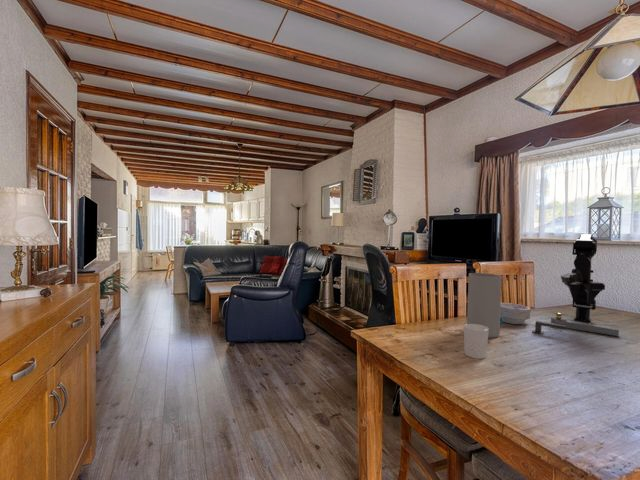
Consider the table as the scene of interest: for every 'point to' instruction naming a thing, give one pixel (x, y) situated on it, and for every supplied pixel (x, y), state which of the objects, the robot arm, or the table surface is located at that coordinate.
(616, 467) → the table surface
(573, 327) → the link
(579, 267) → the robot arm
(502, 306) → the paper bowls
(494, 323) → the tall grey block
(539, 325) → the keeper
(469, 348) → the white cup
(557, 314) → the pintle
